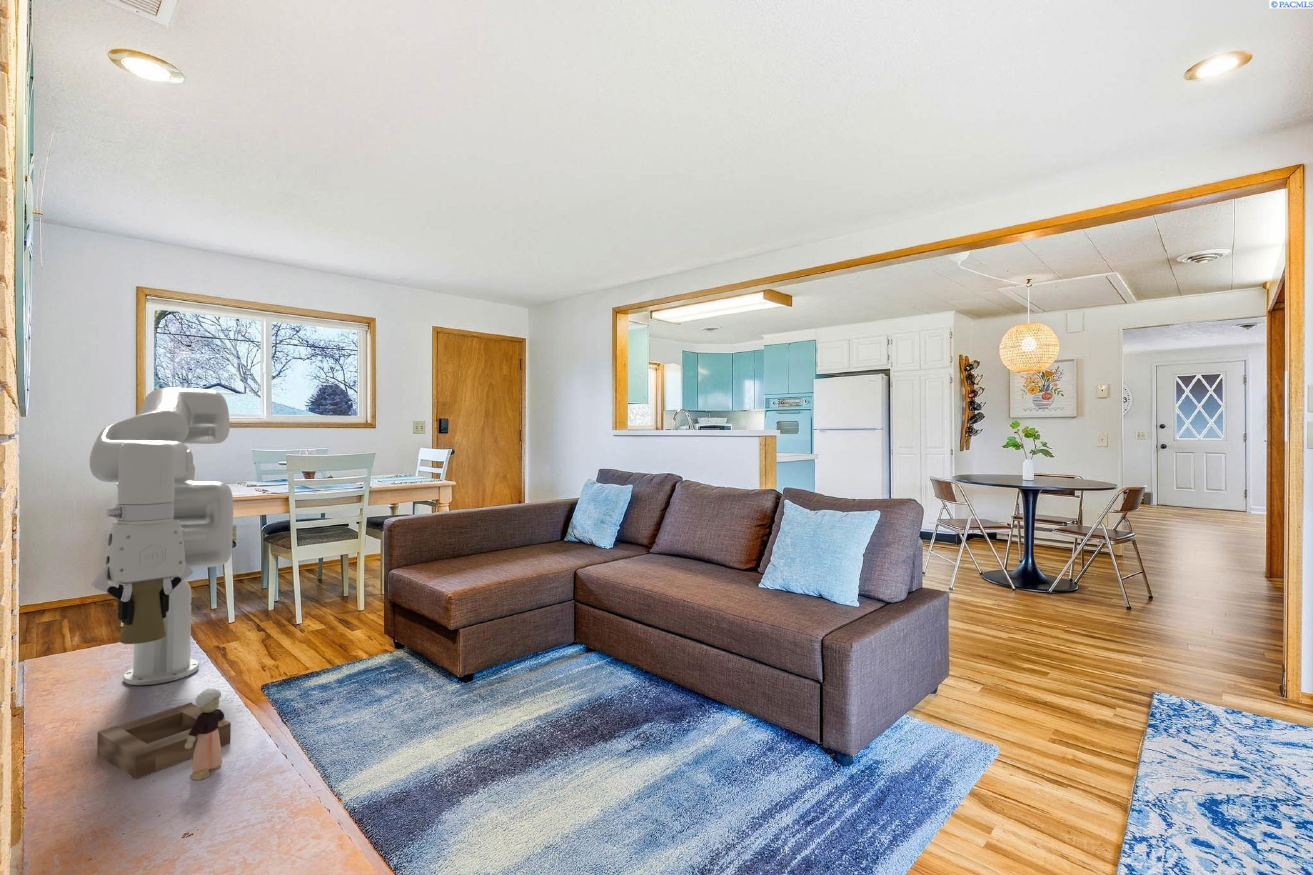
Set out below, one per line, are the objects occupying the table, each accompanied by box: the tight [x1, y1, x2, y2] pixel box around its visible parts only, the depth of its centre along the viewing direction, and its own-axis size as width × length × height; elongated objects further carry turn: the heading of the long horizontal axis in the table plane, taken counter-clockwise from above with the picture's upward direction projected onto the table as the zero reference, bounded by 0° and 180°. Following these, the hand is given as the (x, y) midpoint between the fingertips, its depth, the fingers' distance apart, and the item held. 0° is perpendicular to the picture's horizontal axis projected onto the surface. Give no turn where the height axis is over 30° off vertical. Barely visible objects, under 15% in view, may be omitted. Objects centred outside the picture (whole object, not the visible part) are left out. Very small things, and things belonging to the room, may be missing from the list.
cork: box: [119, 579, 166, 645], centre depth 107 cm, size 6×6×11 cm
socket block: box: [96, 702, 232, 780], centre depth 102 cm, size 14×13×4 cm
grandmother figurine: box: [185, 688, 227, 781], centre depth 96 cm, size 8×4×13 cm, turn 9°
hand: (143, 619), depth 107 cm, fingers closed on cork, 3 cm apart
